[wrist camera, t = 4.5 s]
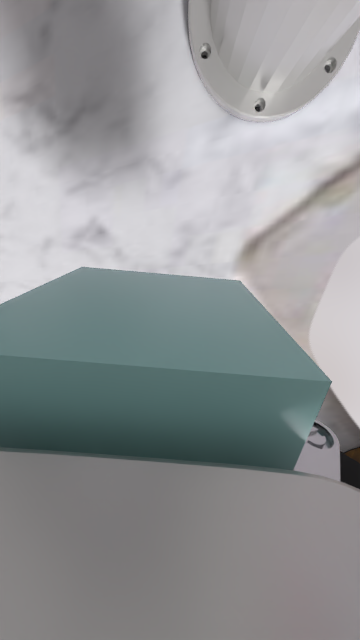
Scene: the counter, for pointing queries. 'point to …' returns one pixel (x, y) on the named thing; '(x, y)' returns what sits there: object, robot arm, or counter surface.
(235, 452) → the mint green block
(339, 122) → the counter surface
